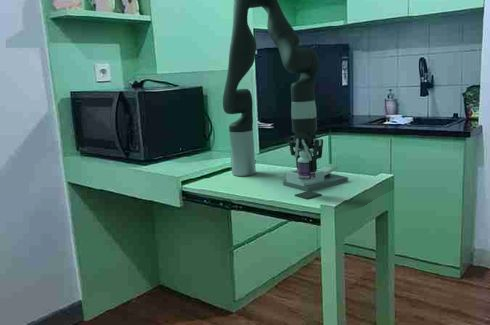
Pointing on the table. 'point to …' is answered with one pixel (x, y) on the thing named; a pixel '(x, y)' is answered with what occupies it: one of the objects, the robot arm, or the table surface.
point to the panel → (319, 182)
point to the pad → (308, 195)
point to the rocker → (329, 169)
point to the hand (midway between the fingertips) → (306, 170)
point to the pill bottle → (304, 169)
